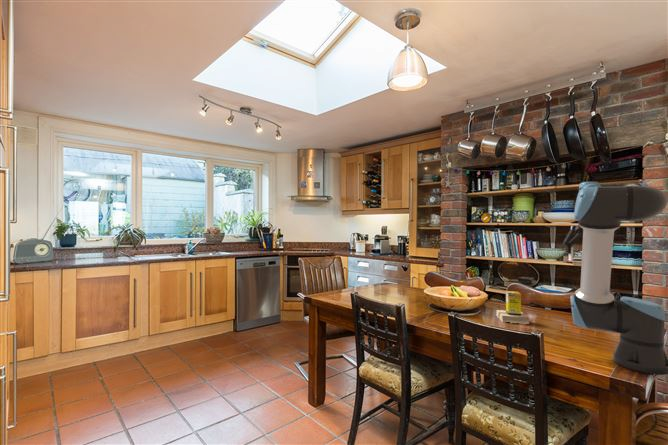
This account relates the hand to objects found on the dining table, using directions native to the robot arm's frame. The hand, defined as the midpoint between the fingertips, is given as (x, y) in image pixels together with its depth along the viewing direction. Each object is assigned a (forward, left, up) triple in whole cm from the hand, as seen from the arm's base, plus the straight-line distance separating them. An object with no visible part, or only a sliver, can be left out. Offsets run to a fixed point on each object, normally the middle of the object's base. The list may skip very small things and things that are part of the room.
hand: (587, 261), depth 158 cm
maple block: (+11, +28, -33) cm, 45 cm away
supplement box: (+11, +28, -29) cm, 42 cm away
